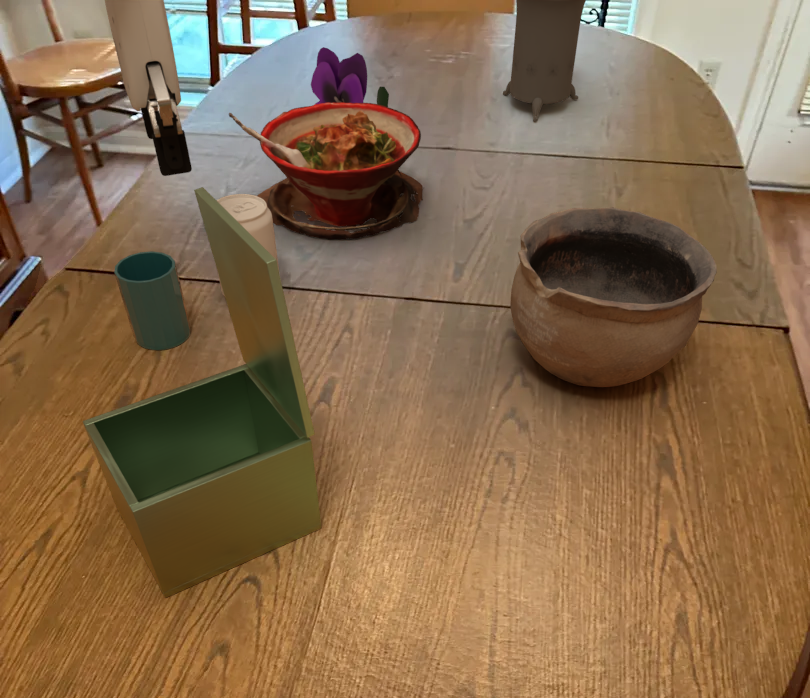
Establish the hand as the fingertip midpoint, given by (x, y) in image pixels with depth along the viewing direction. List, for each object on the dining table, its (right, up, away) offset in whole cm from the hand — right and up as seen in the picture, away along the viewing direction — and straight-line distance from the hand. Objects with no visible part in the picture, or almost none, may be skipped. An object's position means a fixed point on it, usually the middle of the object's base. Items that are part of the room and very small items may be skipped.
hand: (169, 154), depth 85 cm
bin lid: (+13, -23, -18) cm, 32 cm away
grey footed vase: (+52, +43, +68) cm, 95 cm away
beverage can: (+5, -8, +23) cm, 25 cm away
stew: (+15, +9, +38) cm, 42 cm away
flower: (+16, +32, +58) cm, 68 cm away
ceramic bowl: (+49, -20, +13) cm, 54 cm away
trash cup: (-6, -15, +16) cm, 23 cm away
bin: (+7, -40, -5) cm, 41 cm away
